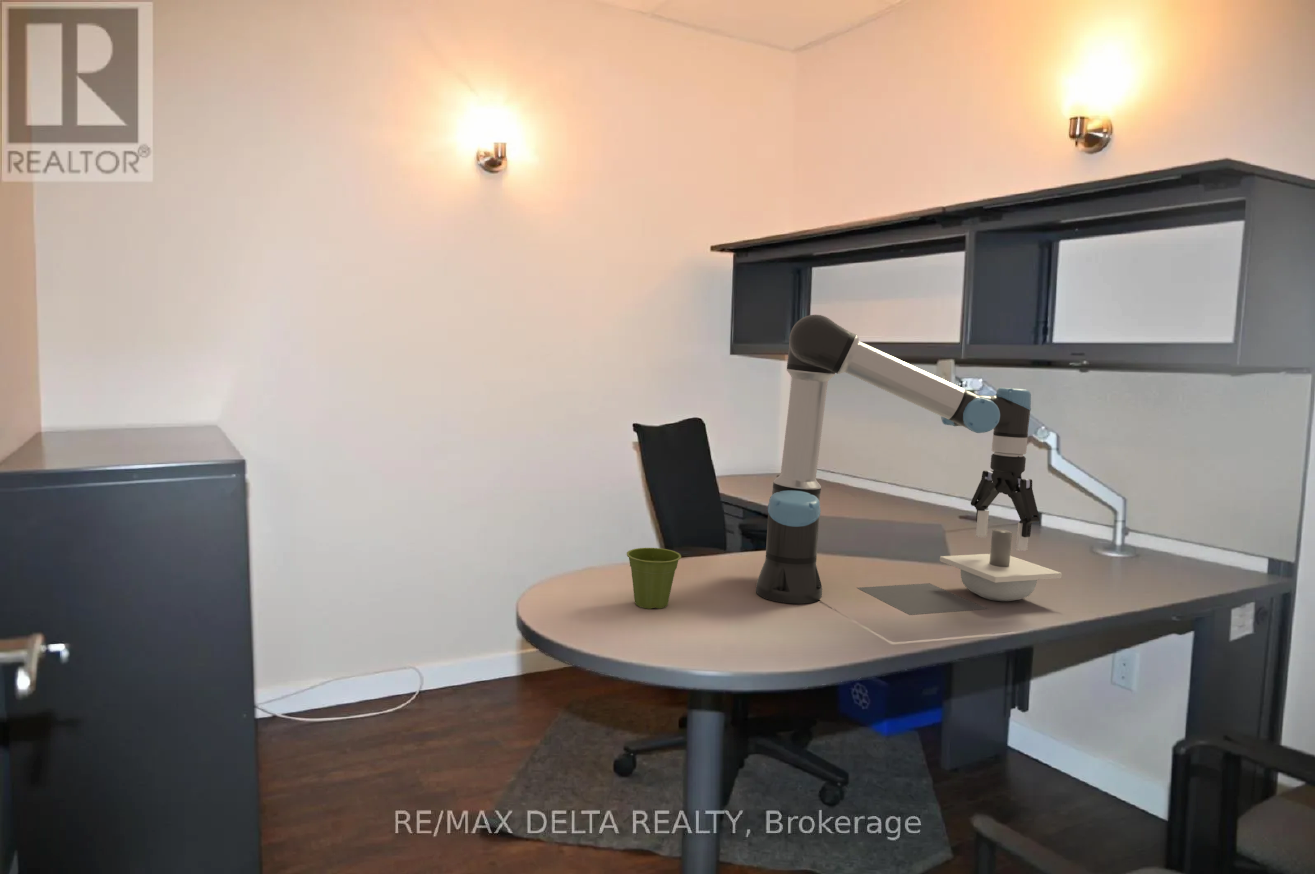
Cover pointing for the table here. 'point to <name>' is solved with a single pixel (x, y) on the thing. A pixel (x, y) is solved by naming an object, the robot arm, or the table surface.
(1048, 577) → the lid
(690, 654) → the table surface
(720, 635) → the table surface
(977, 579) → the cereal bowl
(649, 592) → the plant pot
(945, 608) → the mat
